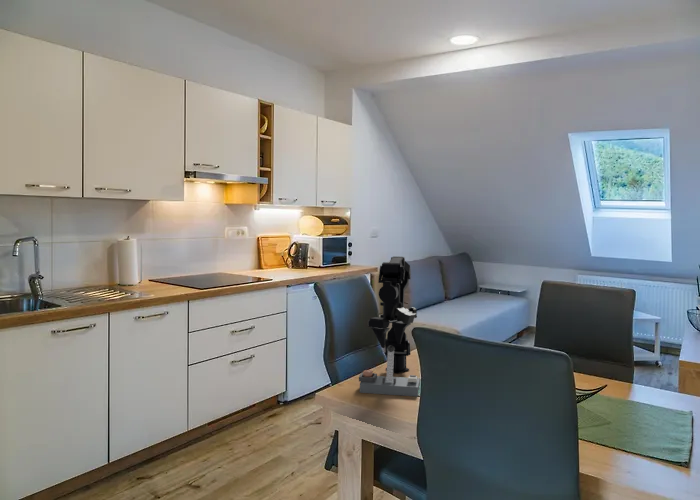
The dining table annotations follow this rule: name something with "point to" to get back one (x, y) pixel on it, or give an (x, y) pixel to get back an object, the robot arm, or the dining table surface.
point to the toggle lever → (390, 363)
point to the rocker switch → (412, 378)
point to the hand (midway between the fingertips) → (391, 345)
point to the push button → (367, 373)
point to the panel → (388, 385)
